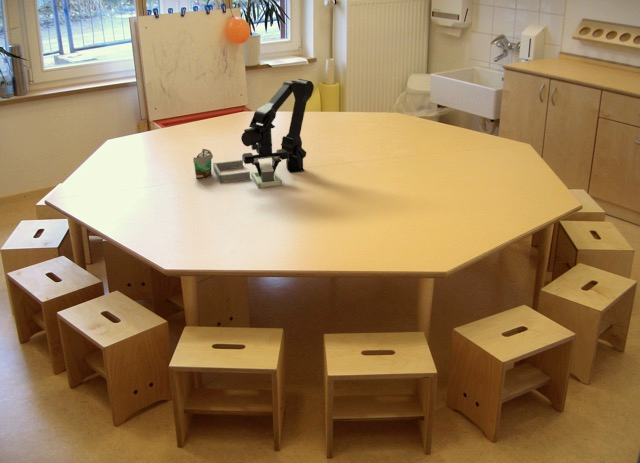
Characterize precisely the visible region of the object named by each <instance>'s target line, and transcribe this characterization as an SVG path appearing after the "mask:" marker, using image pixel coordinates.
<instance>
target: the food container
mask: <svg viewBox="0 0 640 463" xmlns="http://www.w3.org/2000/svg"><path fill="white" fill-rule="evenodd" d="M213 155H214V154H213V153H212V151H211V150H209V149H208V148H207V149H206V148H202V150H201V152H200V153H198V154H197V156H196V157H193V158H192V160H193V166H194V171H195V179H196V180H203V178H204V179H208V178H210V177H211V176H212V159H213V158H214V156H213ZM207 177H208V178H207Z"/></svg>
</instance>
